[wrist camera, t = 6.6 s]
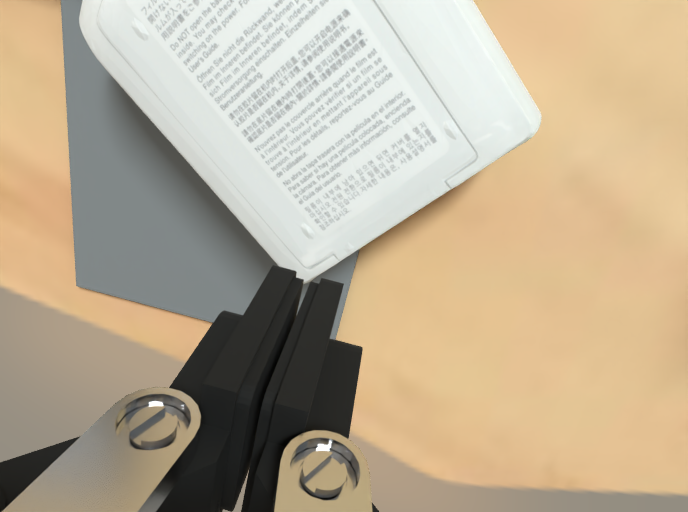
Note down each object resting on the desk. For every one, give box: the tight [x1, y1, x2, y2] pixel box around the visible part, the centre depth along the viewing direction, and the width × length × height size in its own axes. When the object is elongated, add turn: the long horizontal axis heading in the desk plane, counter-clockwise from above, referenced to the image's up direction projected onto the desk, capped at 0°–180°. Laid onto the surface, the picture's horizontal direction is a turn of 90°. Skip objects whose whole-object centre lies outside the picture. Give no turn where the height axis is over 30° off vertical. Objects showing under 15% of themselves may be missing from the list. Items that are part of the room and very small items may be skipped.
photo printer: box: [79, 0, 541, 284], centre depth 15 cm, size 10×4×12 cm
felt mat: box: [61, 0, 359, 340], centre depth 19 cm, size 13×16×1 cm
